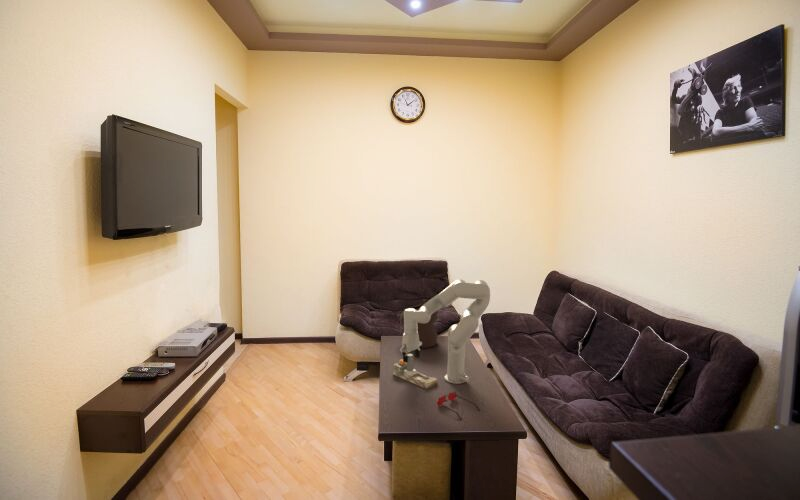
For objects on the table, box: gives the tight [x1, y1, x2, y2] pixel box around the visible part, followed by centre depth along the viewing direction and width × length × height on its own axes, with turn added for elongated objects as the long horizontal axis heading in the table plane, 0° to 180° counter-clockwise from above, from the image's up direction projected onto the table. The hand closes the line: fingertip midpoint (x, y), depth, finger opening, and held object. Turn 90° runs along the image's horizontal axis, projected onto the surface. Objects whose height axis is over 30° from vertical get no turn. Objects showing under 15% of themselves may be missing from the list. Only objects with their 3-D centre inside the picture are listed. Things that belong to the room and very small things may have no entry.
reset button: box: [398, 358, 406, 366], centre depth 237 cm, size 4×4×3 cm
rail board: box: [392, 362, 438, 390], centre depth 230 cm, size 26×9×6 cm, turn 44°
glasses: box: [436, 391, 481, 421], centre depth 197 cm, size 14×16×5 cm
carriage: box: [404, 353, 417, 376], centre depth 232 cm, size 5×5×12 cm
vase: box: [399, 303, 439, 349], centre depth 291 cm, size 27×27×30 cm
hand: (411, 359), depth 232 cm, fingers open, 9 cm apart
